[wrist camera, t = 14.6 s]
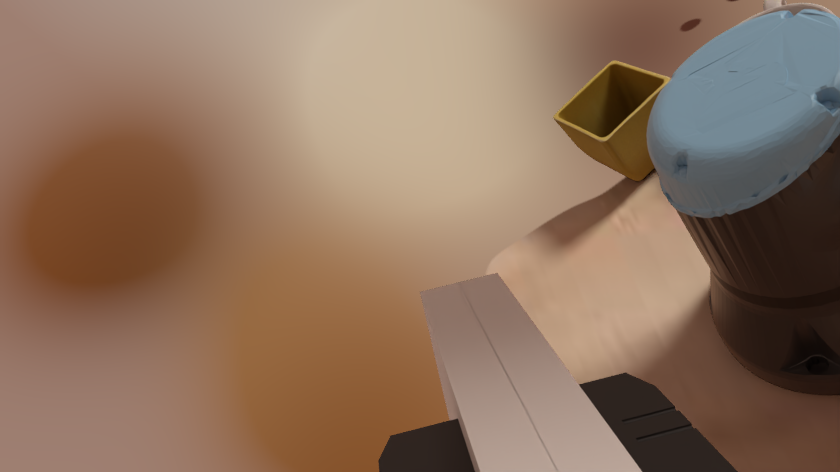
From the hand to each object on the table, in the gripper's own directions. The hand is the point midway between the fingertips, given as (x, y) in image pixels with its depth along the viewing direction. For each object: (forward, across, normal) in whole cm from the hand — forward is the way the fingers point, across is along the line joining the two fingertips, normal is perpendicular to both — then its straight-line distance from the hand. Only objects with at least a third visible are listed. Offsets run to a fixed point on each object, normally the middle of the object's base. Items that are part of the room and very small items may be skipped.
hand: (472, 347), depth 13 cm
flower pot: (+55, +27, -11) cm, 62 cm away
